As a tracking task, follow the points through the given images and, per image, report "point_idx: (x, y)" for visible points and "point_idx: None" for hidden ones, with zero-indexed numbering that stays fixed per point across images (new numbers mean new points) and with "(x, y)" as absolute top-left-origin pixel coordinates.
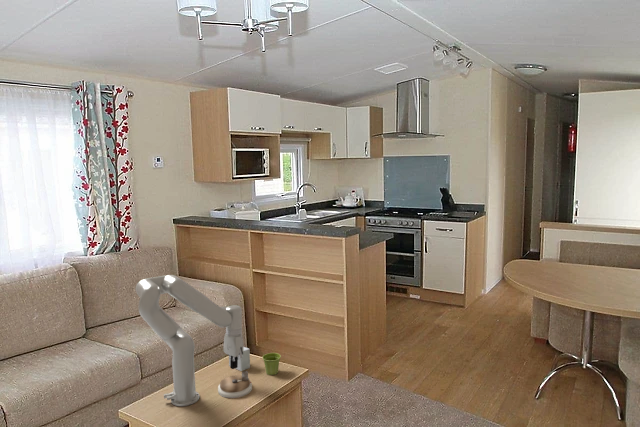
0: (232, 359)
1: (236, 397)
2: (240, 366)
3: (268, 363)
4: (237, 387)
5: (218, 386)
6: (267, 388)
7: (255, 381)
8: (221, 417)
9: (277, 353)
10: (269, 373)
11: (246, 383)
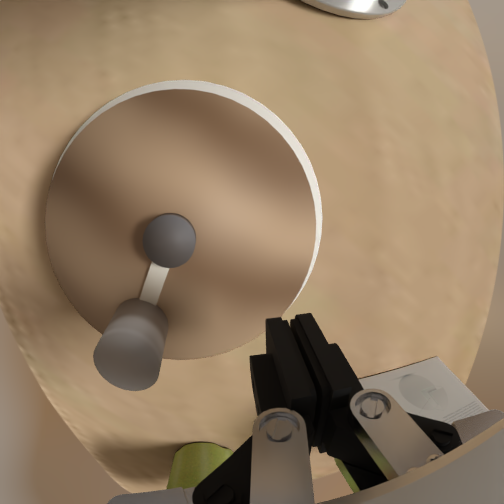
0: (334, 423)
1: None
2: None
3: None
4: (66, 192)
5: (278, 121)
6: (62, 361)
7: (179, 376)
8: (10, 10)
9: None
10: (188, 450)
11: (77, 290)
